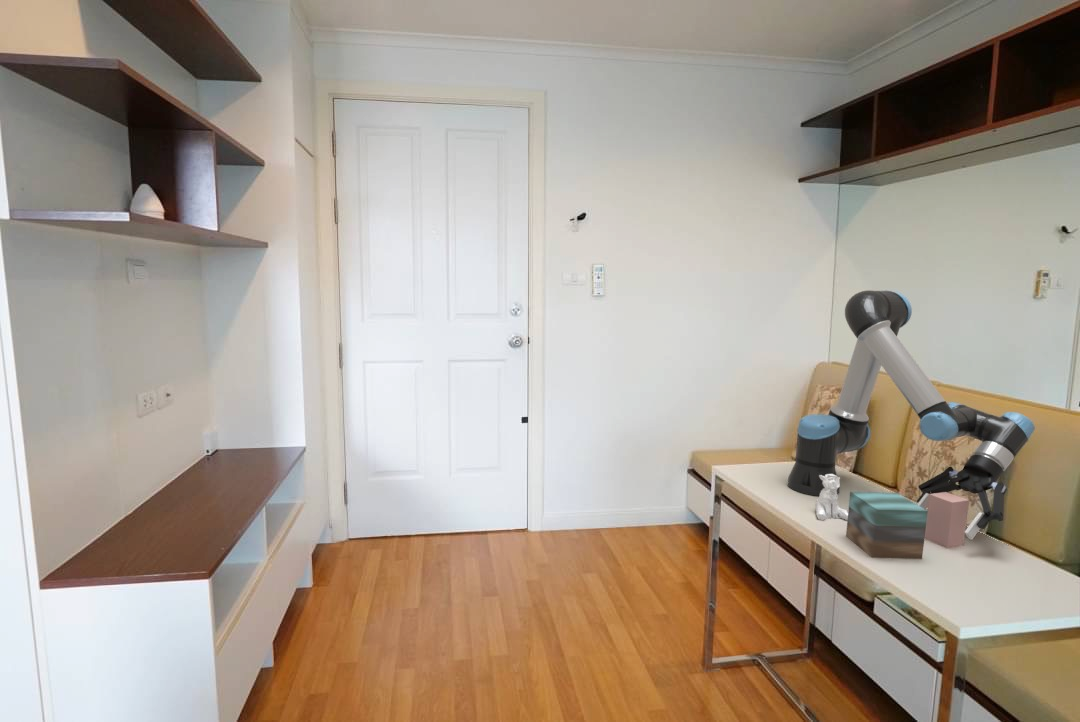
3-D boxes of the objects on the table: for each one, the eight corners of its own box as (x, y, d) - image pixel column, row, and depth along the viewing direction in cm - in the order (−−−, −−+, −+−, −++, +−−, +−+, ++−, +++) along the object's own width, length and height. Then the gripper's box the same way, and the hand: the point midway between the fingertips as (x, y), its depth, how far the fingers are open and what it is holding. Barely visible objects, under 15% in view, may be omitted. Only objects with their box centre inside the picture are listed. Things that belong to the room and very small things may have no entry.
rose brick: (924, 538, 149) (929, 494, 148) (940, 535, 151) (945, 491, 150) (946, 548, 143) (952, 502, 142) (963, 545, 145) (969, 500, 144)
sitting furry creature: (818, 520, 159) (822, 479, 157) (803, 508, 168) (807, 469, 166) (852, 521, 159) (856, 479, 158) (836, 509, 168) (839, 470, 166)
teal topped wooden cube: (846, 535, 149) (850, 491, 148) (892, 537, 149) (896, 492, 148) (871, 557, 138) (877, 509, 136) (922, 558, 137) (927, 510, 136)
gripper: (1048, 488, 139) (999, 555, 135) (946, 458, 162) (901, 515, 159) (1037, 468, 136) (986, 536, 133) (934, 441, 159) (889, 498, 156)
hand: (940, 525), depth 146 cm, fingers open, 13 cm apart
